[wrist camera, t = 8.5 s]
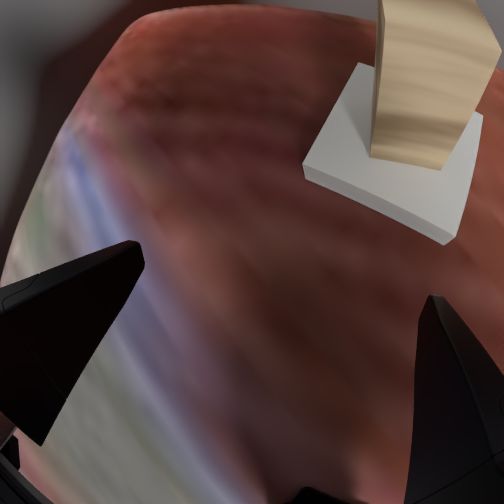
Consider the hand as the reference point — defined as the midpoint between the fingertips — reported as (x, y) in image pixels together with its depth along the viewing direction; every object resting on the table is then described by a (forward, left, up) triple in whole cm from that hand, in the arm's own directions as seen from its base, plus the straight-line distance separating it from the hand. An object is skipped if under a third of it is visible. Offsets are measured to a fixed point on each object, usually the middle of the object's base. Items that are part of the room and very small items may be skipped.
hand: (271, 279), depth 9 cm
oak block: (-1, -15, -11) cm, 18 cm away
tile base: (-1, -15, -14) cm, 20 cm away
